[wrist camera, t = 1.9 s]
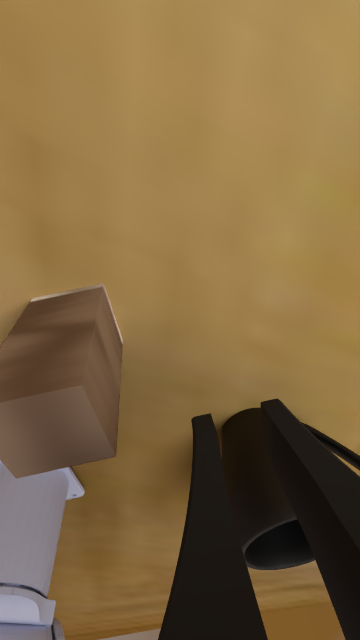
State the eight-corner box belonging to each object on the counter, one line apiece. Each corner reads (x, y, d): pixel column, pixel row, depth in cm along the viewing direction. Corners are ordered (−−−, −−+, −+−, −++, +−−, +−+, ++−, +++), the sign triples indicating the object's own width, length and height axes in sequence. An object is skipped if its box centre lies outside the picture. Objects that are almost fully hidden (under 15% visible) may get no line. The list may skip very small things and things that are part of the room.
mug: (327, 433, 30) (398, 541, 22) (214, 462, 30) (243, 580, 22) (333, 376, 26) (425, 484, 17) (201, 410, 25) (232, 534, 17)
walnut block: (59, 353, 20) (16, 478, 13) (32, 298, 18) (-42, 411, 10) (122, 340, 21) (116, 456, 13) (103, 283, 18) (81, 384, 11)
